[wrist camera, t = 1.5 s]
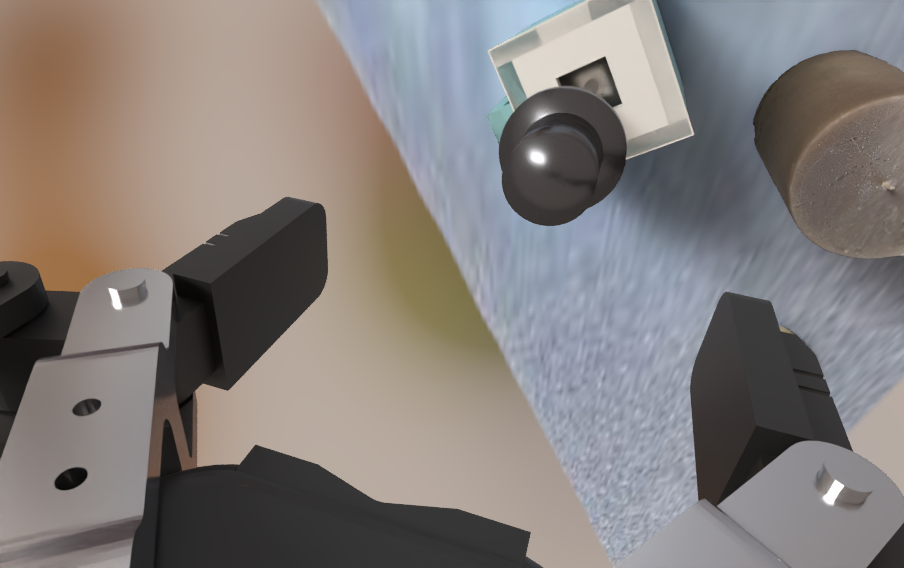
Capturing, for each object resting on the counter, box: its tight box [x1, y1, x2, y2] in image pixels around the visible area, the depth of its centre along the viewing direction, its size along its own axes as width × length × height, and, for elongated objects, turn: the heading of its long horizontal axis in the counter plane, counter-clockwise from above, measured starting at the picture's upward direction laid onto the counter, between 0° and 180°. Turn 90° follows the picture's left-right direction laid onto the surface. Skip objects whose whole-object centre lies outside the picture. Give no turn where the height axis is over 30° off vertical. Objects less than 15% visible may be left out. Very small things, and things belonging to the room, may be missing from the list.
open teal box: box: [486, 0, 694, 160], centre depth 40 cm, size 9×11×14 cm
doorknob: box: [499, 56, 627, 226], centre depth 28 cm, size 6×6×18 cm
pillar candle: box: [753, 50, 904, 259], centre depth 37 cm, size 10×10×15 cm
